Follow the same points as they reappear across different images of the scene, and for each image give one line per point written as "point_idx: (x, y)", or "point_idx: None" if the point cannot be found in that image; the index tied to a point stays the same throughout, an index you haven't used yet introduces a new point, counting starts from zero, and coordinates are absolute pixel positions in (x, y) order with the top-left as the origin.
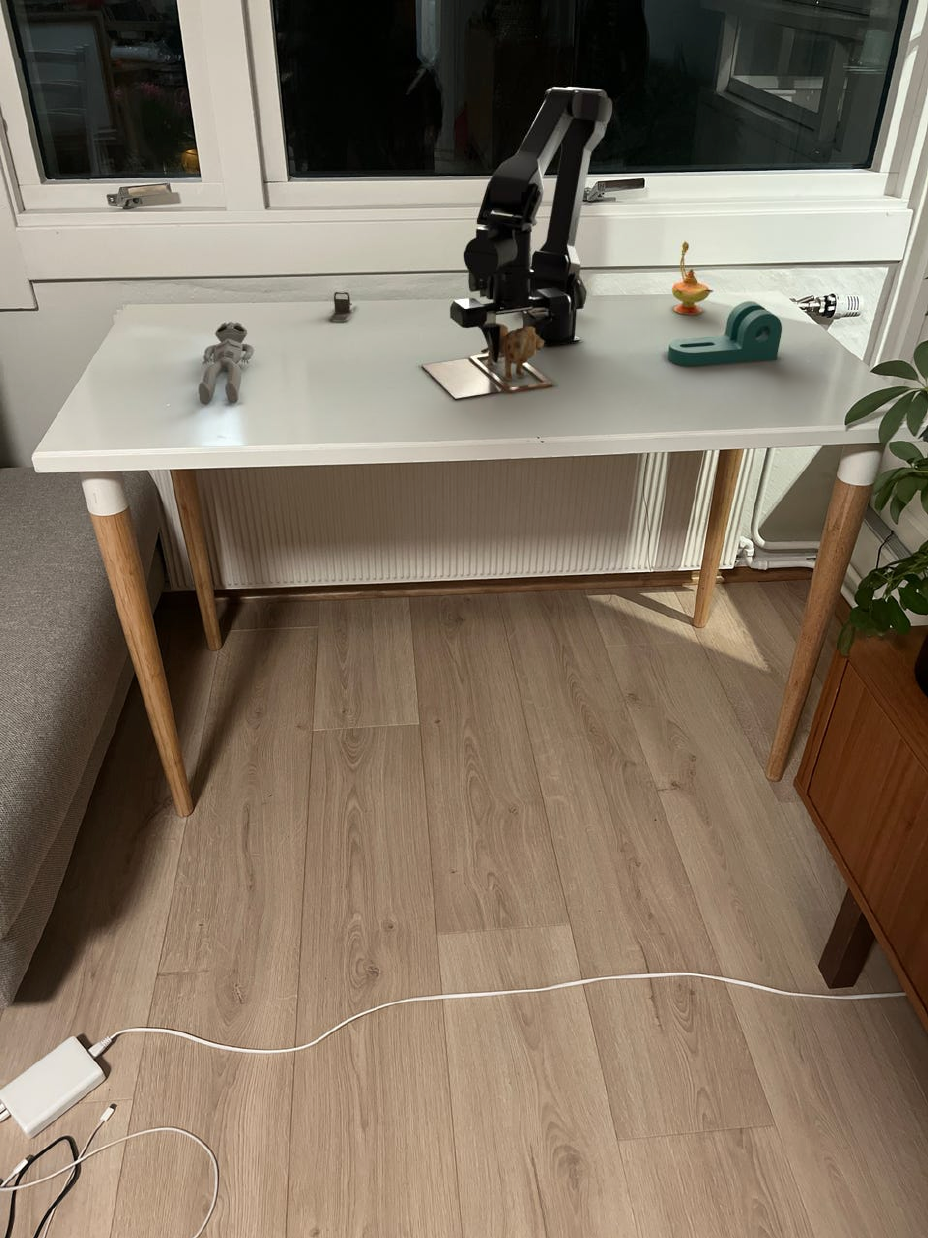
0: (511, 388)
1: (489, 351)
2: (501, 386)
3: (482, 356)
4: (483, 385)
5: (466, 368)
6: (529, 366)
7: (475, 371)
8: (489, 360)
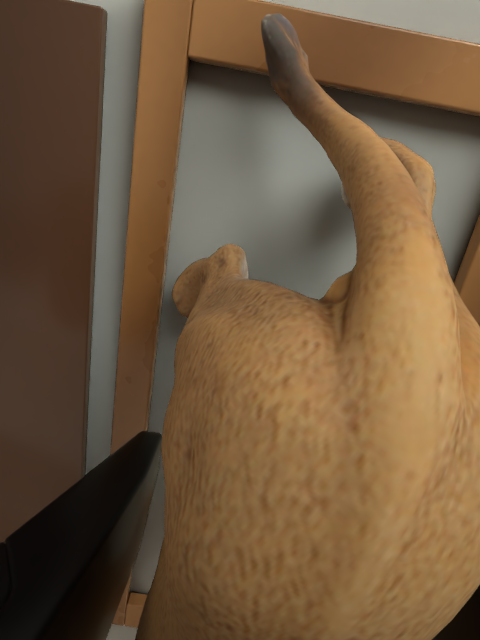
0: (126, 612)
1: (89, 474)
2: None
3: (259, 68)
4: (5, 516)
5: (8, 234)
6: None
7: (49, 323)
8: (198, 291)
